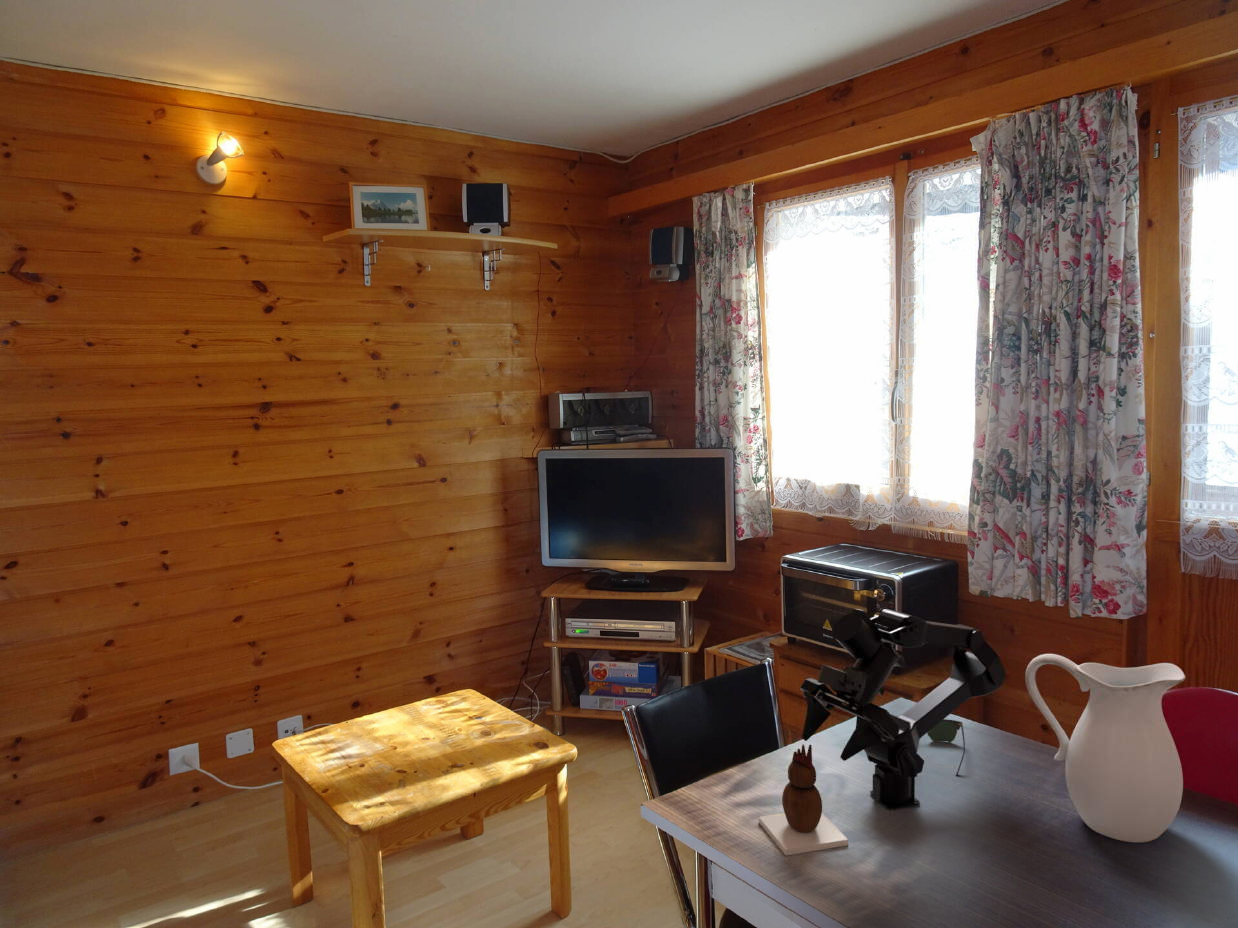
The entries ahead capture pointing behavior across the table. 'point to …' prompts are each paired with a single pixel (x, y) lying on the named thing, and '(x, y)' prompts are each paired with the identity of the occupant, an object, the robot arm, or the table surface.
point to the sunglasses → (946, 732)
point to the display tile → (802, 835)
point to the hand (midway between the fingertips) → (822, 748)
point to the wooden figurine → (802, 793)
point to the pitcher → (1119, 748)
